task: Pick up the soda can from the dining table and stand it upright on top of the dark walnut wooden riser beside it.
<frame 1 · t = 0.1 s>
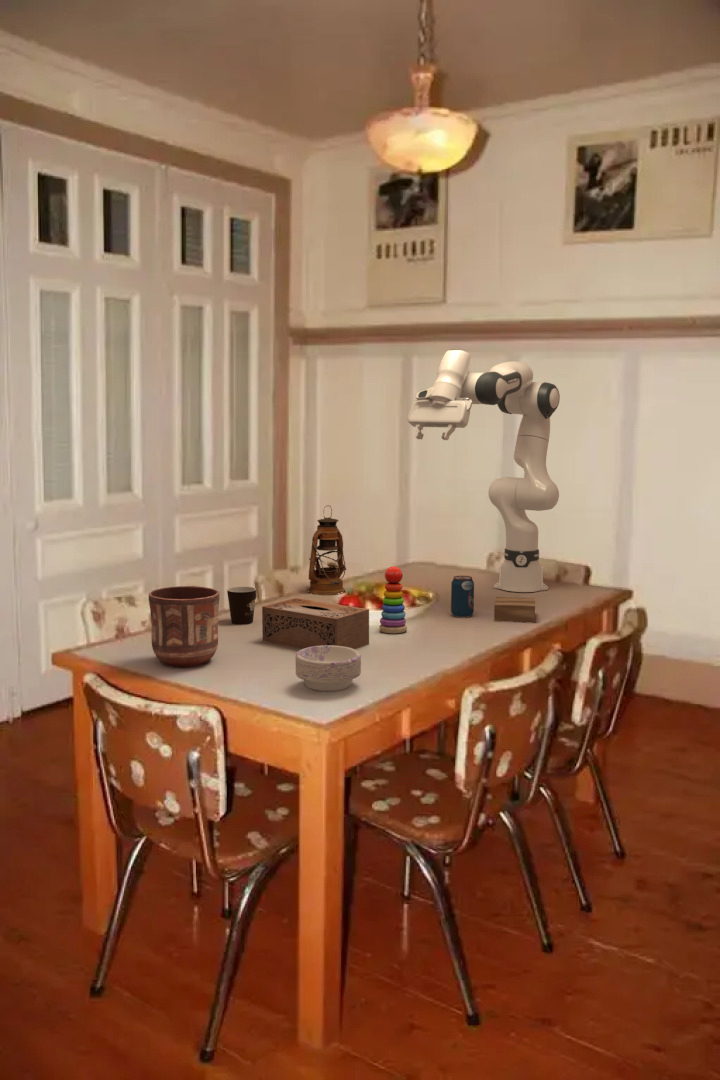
hand: (431, 438, 292), 54 cm above the table, tool tilted 30°, fingers open, 8 cm apart
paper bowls: (328, 686, 227), on the table
tissue box cover: (315, 644, 267), on the table
soda can: (462, 616, 301), on the table
coffee mug: (246, 622, 292), on the table
lantern: (326, 591, 338), on the table
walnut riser: (514, 617, 298), on the table
stacking toy: (393, 631, 281), on the table
pottery: (186, 662, 248), on the table
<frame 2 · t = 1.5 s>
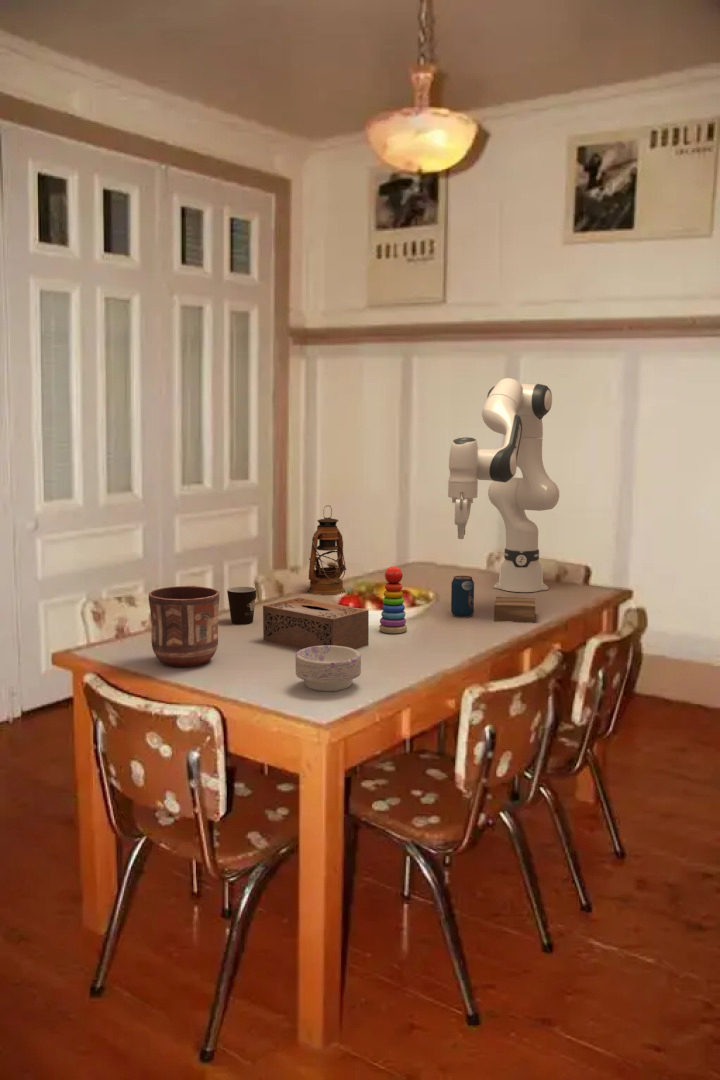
hand: (461, 537, 297), 24 cm above the table, tool pointing down, fingers open, 8 cm apart
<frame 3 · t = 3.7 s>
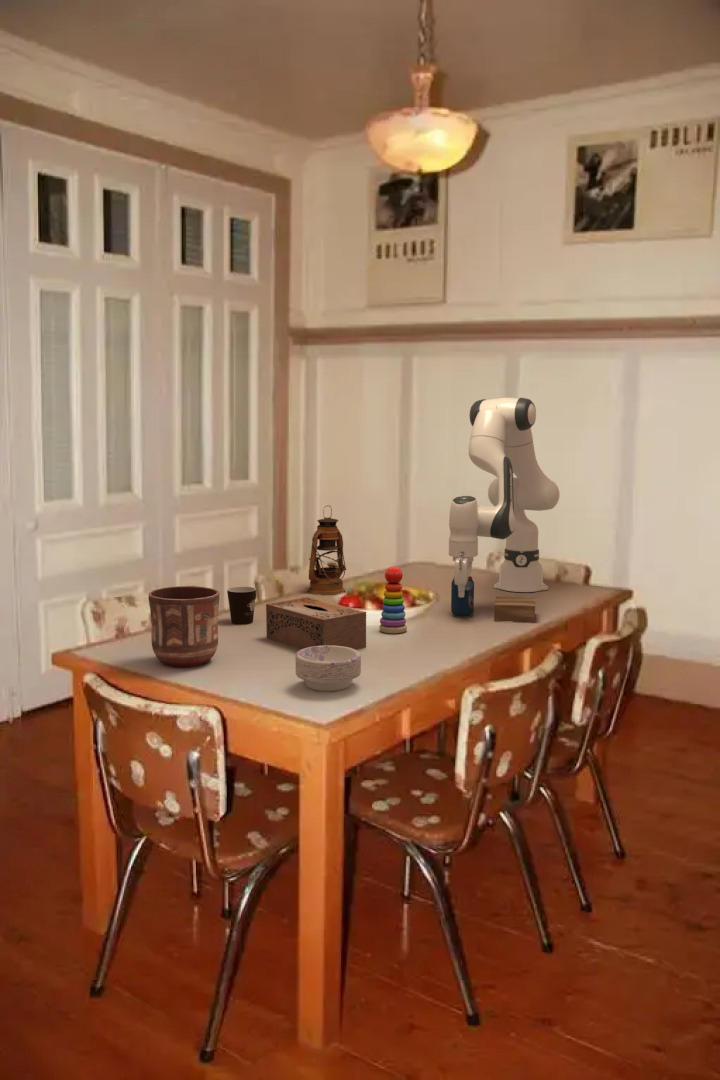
hand: (462, 594, 300), 7 cm above the table, tool pointing down, fingers closed on soda can, 7 cm apart
soda can: (462, 616, 301), on the table, touching gripper
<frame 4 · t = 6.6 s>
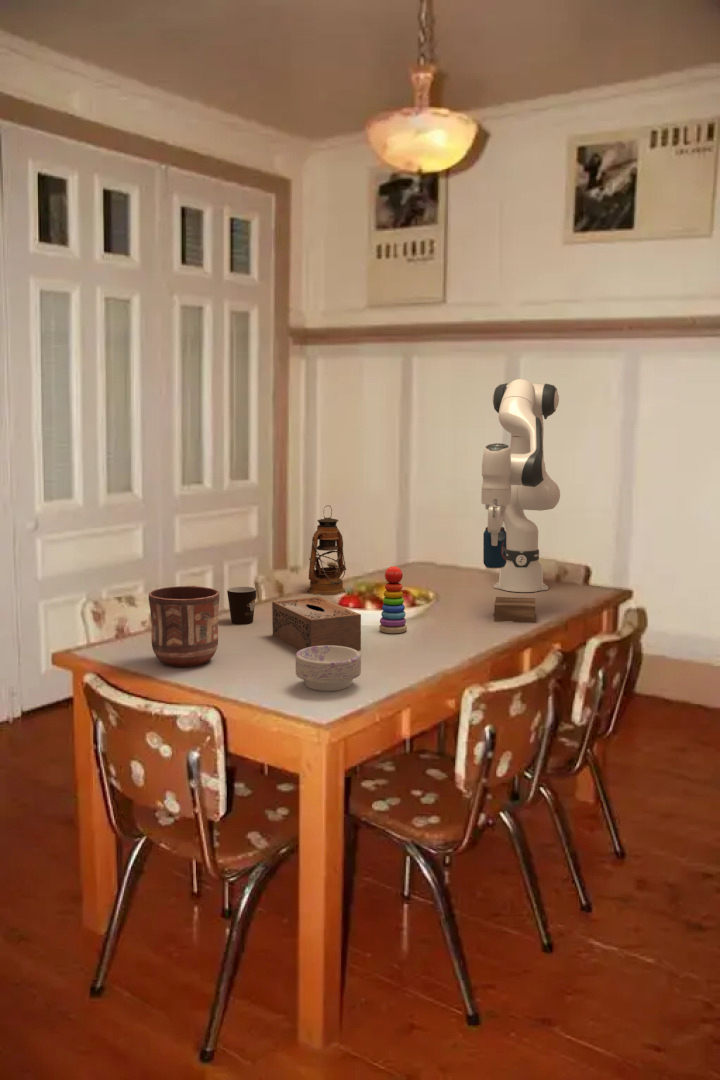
hand: (495, 543, 296), 23 cm above the table, tool pointing down, fingers closed on soda can, 7 cm apart
soda can: (494, 567, 297), point 15 cm above the table, touching gripper
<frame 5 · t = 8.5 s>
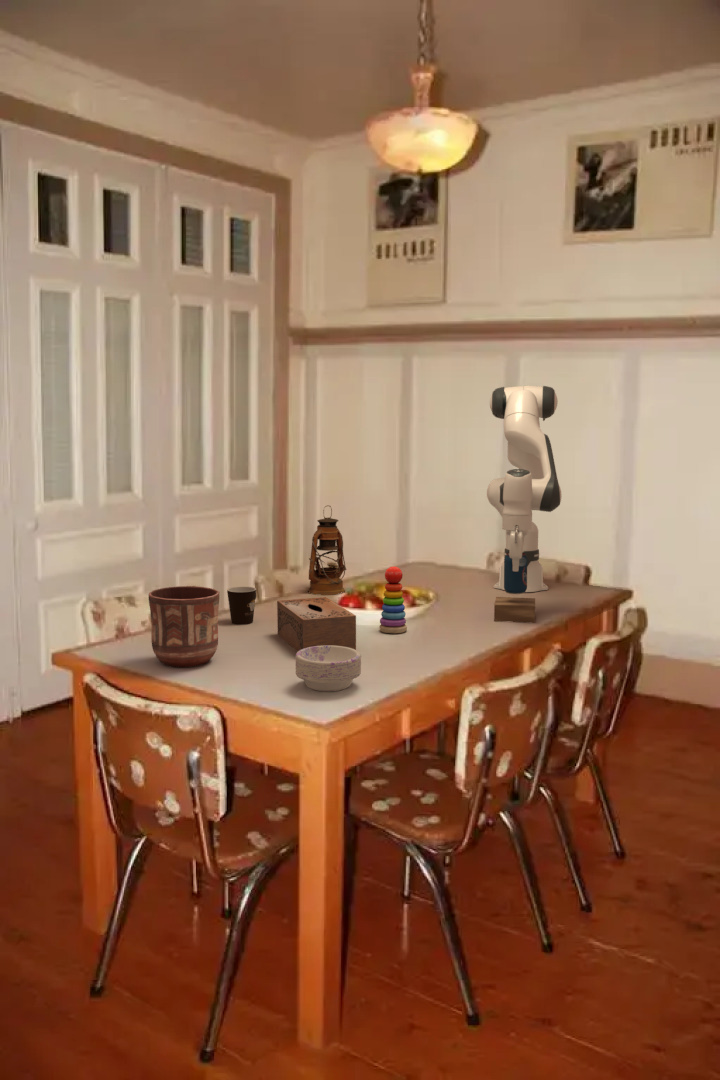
hand: (515, 568, 296), 15 cm above the table, tool pointing down, fingers closed on soda can, 7 cm apart
soda can: (515, 592, 297), point 8 cm above the table, touching gripper
when the fingers open (13 cm above the table, at t = 9.9 s): soda can stays where it is, resting on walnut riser.
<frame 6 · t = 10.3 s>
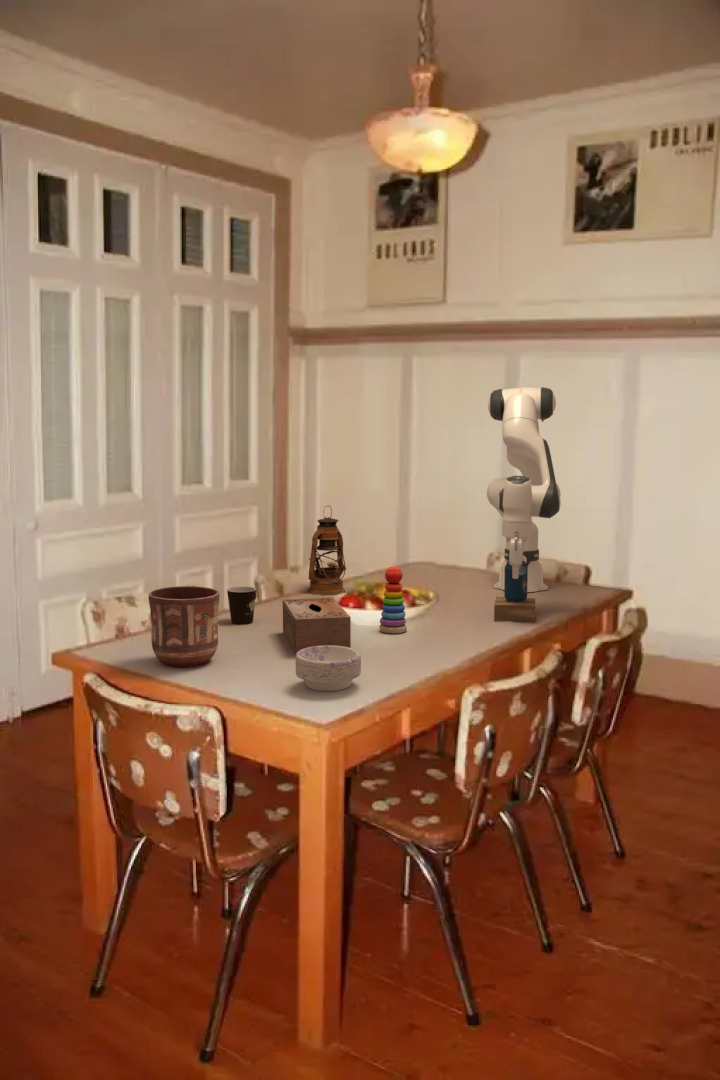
hand: (515, 575, 296), 13 cm above the table, tool pointing down, fingers open, 8 cm apart
soda can: (515, 600, 298), point 5 cm above the table, touching gripper, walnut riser
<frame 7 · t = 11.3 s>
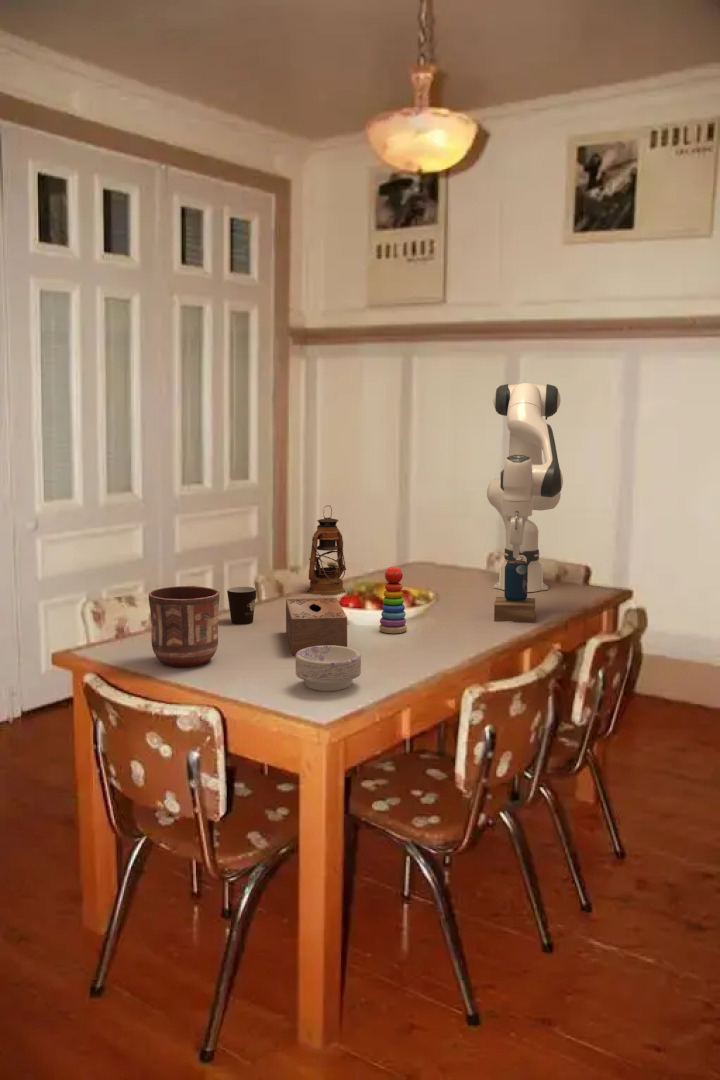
hand: (516, 554, 295), 19 cm above the table, tool pointing down, fingers open, 8 cm apart
soda can: (515, 600, 299), point 5 cm above the table, touching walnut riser
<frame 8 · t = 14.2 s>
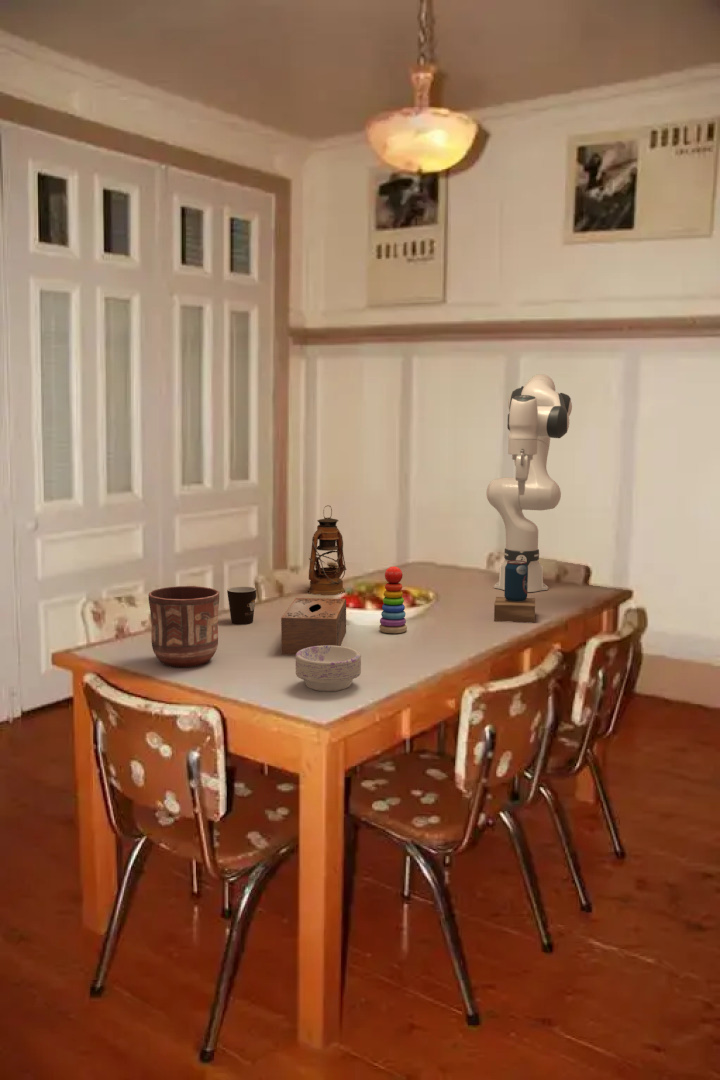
hand: (521, 493, 302), 37 cm above the table, tool pointing down, fingers open, 8 cm apart
at the end: soda can inside the target area on the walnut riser (1.9 cm from its centre), point 4.8 cm above the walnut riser's base; soda can tilted 0°; the gripper is holding nothing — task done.
